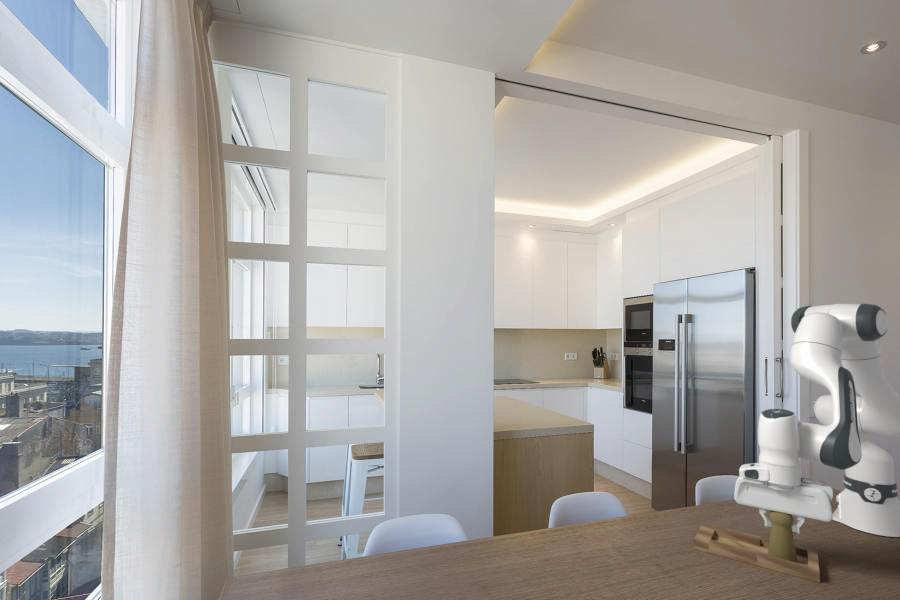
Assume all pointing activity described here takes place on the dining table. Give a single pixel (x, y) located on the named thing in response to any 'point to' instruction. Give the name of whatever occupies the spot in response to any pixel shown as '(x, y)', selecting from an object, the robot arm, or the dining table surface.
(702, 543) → the keyhole board
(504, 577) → the dining table surface
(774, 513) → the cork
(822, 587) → the dining table surface
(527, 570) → the dining table surface
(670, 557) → the dining table surface
